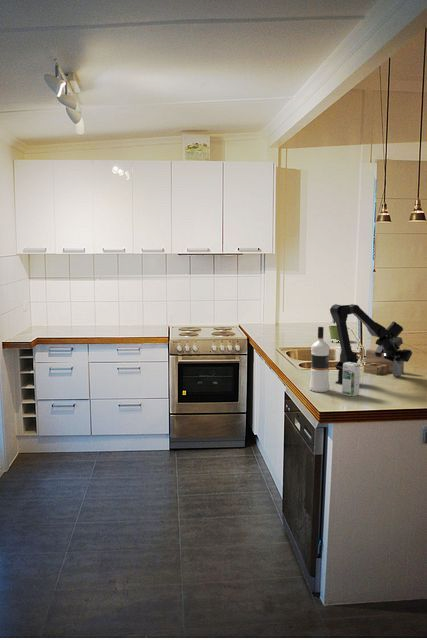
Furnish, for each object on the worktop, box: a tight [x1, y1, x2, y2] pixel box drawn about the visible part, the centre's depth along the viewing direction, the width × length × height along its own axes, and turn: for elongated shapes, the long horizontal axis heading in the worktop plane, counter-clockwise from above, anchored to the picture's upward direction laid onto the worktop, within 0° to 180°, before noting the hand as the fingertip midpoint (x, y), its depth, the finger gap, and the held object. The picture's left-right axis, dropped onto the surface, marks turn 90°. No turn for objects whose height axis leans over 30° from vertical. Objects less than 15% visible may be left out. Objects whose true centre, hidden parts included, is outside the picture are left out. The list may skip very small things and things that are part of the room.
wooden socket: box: [362, 348, 405, 376], centre depth 291 cm, size 14×22×10 cm, turn 39°
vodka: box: [308, 326, 330, 393], centre depth 251 cm, size 9×9×30 cm
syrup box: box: [341, 362, 361, 397], centre depth 244 cm, size 6×6×14 cm
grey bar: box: [392, 356, 402, 378], centre depth 279 cm, size 4×2×13 cm, turn 128°
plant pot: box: [328, 325, 339, 340], centre depth 387 cm, size 12×12×11 cm
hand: (399, 363), depth 280 cm, fingers closed on grey bar, 2 cm apart
